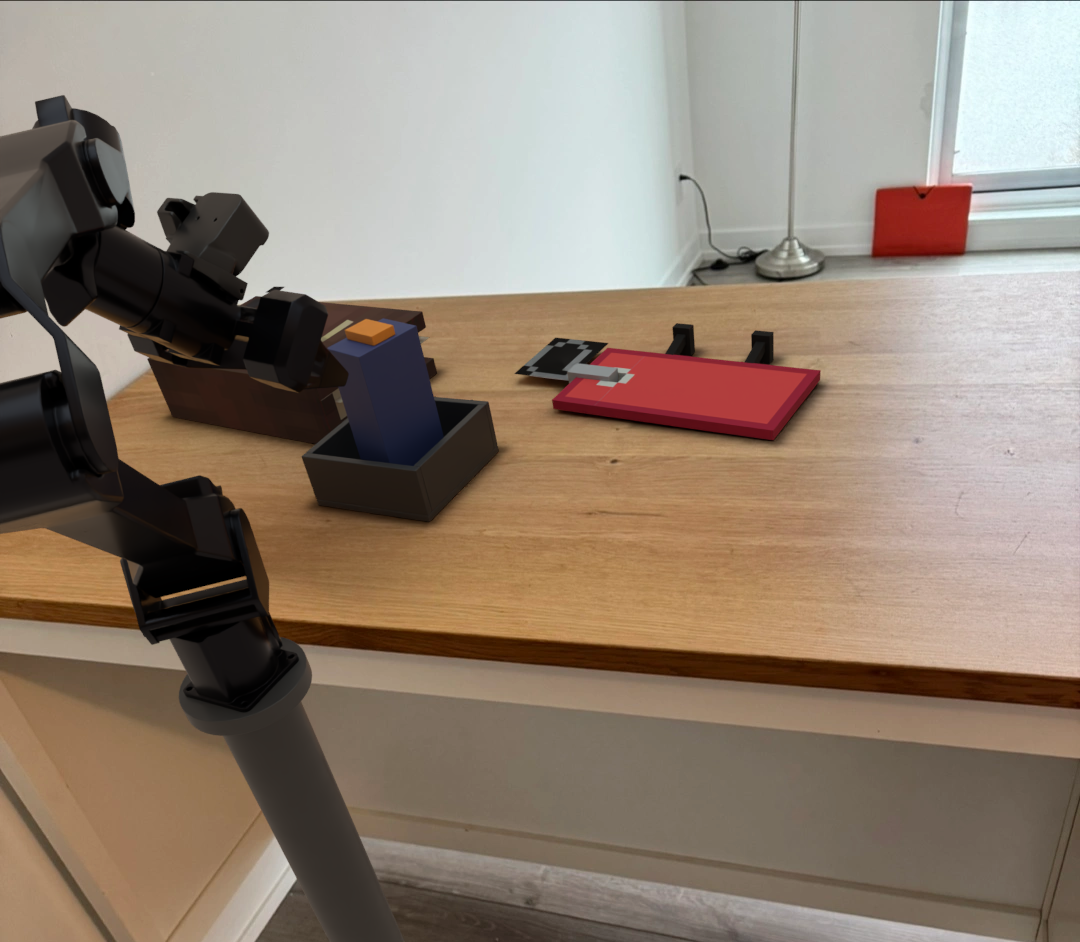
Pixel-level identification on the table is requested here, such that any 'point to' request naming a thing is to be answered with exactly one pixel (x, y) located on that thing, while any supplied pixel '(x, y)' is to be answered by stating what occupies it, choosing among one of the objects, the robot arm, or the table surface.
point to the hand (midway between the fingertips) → (307, 371)
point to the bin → (404, 466)
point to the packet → (388, 392)
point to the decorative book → (261, 405)
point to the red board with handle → (677, 384)
